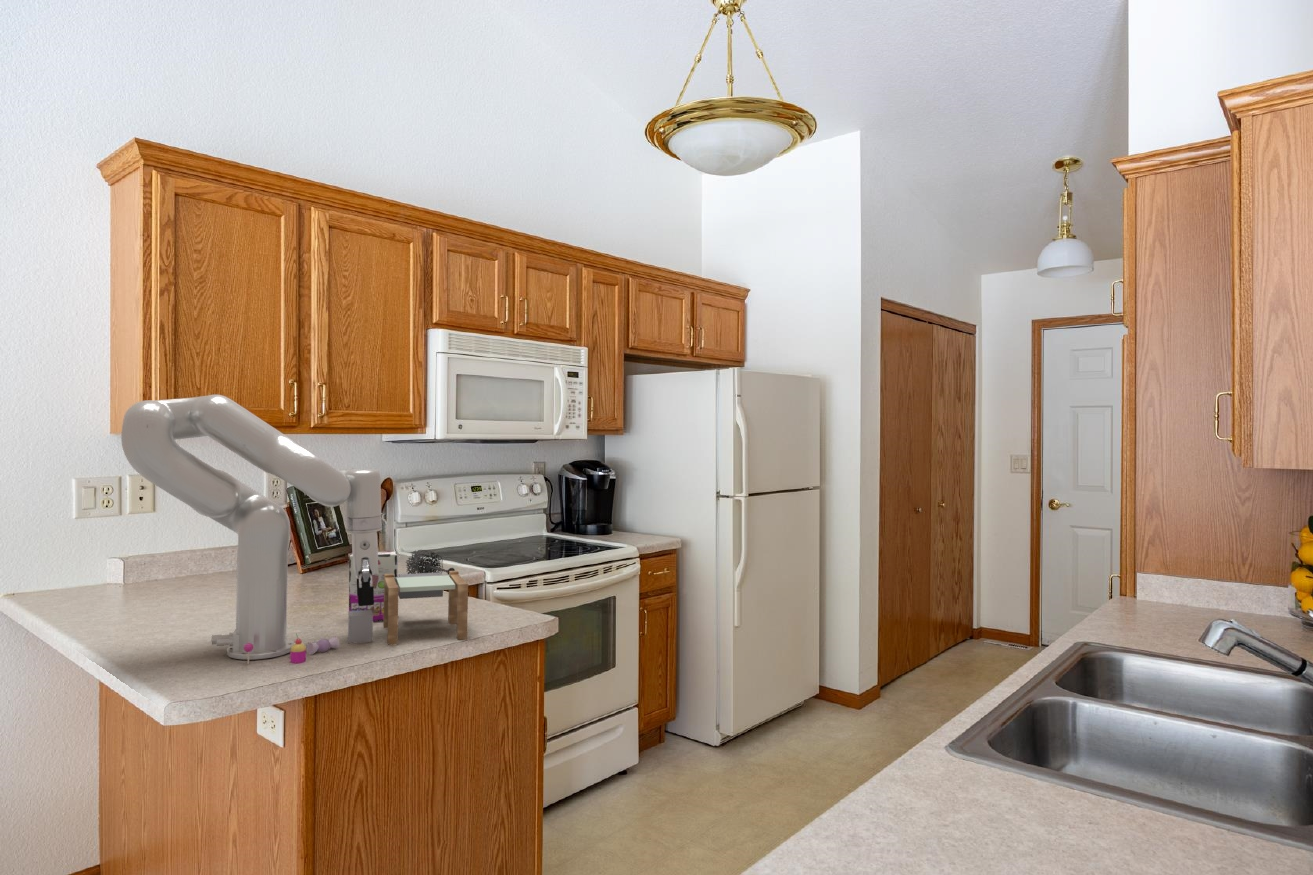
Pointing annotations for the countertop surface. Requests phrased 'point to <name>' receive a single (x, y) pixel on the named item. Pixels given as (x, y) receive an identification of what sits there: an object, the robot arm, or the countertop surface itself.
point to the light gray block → (360, 626)
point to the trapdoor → (423, 585)
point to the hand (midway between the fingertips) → (365, 600)
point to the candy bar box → (373, 584)
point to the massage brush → (428, 566)
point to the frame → (455, 606)
